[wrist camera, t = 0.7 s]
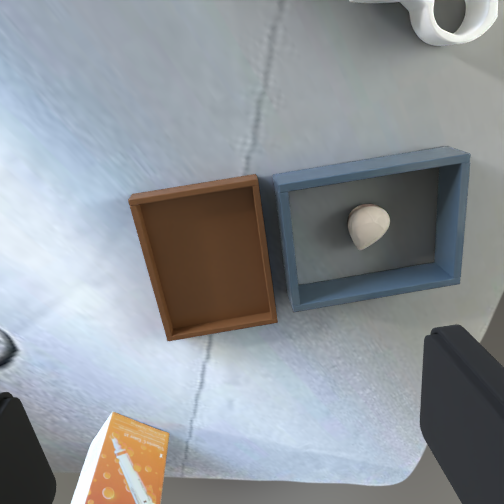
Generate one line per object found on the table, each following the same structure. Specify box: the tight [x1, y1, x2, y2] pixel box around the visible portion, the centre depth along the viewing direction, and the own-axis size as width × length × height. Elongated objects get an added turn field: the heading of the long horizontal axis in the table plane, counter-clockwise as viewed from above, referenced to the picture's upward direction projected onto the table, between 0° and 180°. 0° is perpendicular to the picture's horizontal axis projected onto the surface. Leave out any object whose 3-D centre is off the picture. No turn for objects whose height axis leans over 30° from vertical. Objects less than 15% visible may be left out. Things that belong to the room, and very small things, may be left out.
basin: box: [273, 146, 471, 312], centre depth 41 cm, size 14×18×4 cm
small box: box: [71, 412, 169, 504], centre depth 46 cm, size 8×6×13 cm
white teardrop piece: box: [347, 204, 390, 250], centre depth 42 cm, size 4×5×2 cm
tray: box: [128, 174, 278, 341], centre depth 42 cm, size 16×12×2 cm
